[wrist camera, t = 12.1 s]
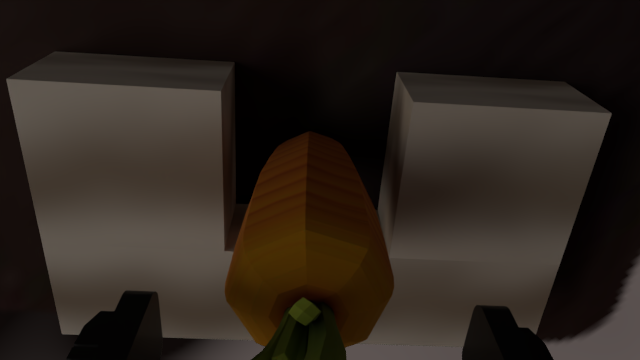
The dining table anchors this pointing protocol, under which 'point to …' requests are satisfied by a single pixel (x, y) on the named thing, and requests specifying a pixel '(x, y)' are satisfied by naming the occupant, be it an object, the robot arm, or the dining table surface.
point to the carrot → (309, 255)
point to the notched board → (227, 217)
